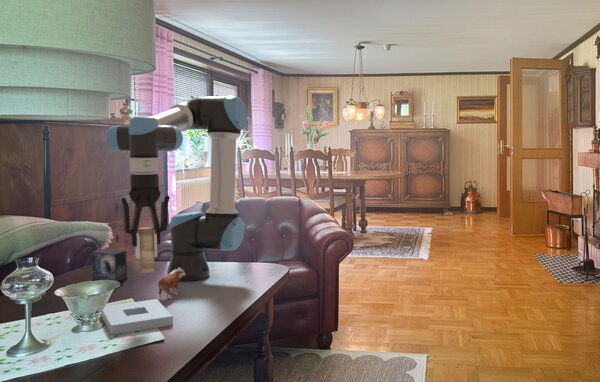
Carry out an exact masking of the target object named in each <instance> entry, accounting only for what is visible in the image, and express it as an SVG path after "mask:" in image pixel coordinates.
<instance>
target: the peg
mask: <svg viewBox="0 0 600 382" xmlns="http://www.w3.org/2000/svg"><path fill="white" fill-rule="evenodd" d="M137 233H138V234H139V235H140V259H138V261H139V263H138V265H139V267H138V268H139V270H138V271H139V273H142V274H147V273H154V272H155V257H154V237H153V233H154V227H138V231H137Z"/></svg>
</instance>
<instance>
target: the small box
mask: <svg viewBox="0 0 600 382" xmlns="http://www.w3.org/2000/svg"><path fill="white" fill-rule="evenodd" d="M91 261H92V279H93V278H95V279H109V280H116V281H120V282H122V281H124V280H127V279H128V273H127V272H128V269H127V268H128V267H127V266H128V265H127V250H125V249H116V248H105V247H103V248H100V249H96V250H94V251H91Z"/></svg>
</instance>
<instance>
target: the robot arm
mask: <svg viewBox="0 0 600 382" xmlns="http://www.w3.org/2000/svg"><path fill="white" fill-rule="evenodd" d="M247 124H248V112H247V107H246V105H245V103H244V102H243V100H242V99H241V98H240V97H239V96H235V95H234V96H233V95H219V96H218V95H216V96H215V95H214V96H198V97H194V98H193V97H192V98H191V99H188V100H184V101H182V102H179V103H177V104H174V105H172V106H171V107H170V109H167V110H165V111H162V112H160V113H157V114H154V115H151V116H134V117H133V116H132V117H130V119H129V121H128V124H124V125H120V124H118V125H112V126H110V127H109V128H108V129H107V130H106V132H105V143H106V145H107V147H108V148H109V149H110V150H111V151H116V152H117V151H118V152H129V171H130V172H129V173H131V174H130V175H129V177H130V181H129V182H130V191H128V194H127V195H125V196H121V197H119V202H120V203H121V206H122V222H123V231H124V233H126V234H129V235H130V236H131V237H130V239H131V240H130V241H131V243H130V244H131V246H132V247H135V250H134V251H135V258H136V260H139V259H140V235H139V233H138V229H139V226H140V219H141V213H142V210H143V208H145V207H147V208H148V210H149V213H150V218H151V219H150V220H151V222H152V226H153V227H152V228H153V237H154V258H158V245H160V244H161V234H162V232H166V231H167V229H168V204H169V201H170V198H171V197H170V196H169V195H167V194H163V193H161V191H160V186H159V185H160V184H159V183H160V181H159V179H160V178H159V174H158V172H159V152H173V151H177V150H178V149H180V147H182V144H183V141H184V140H183V139H184V137H183V132H185V131H189V130H204V131H205V130H206V131H207V135H208V136H209V138H210V139H211V149H210V150H211V154H210V157H211V158H210V193H209V196H210V197H209V208H208V209H207V210H206V211H205V214H204V212H203V211H189V212H185V213H183V212H182V213H179V214H175V215H172V217H171V218H170V227H169V229H170V248H171V250H170V251H171V254H170V255H171V256H170V260H169V263H168V266H167V270H166V274H167V275H168V274H169V273H171V272H172V271H173V270H174V269H178V268H181V269H182V270H183V271H184V273H185V276H182V277H181V278H179V282H189V281H191V282H192V281H199V280H202V279H206V278H208V277H210V267H209V263H208V262H207V258H206V256H205V250H216V251H217V250H218V251H222V252H225V251H235V250H237V249H238V248H239V246H240V245H241V243H242V242H243V239H244V236H245V232H246V231H245V230H246V229H245V227H246V226H245V221H244V220H243V218H241V217H239V214H240V213H239V210H237V209H236V207H235V205H236V204H235V201H236V199H235V198H236V161H237V160H236V158H237V157H236V156H237V140H238V139H239V138H240V136H241V135H242V134H241V131H242V130H244V129H246V128H247ZM130 200H131V201H132V202H133V203H134V211H133V216H132V223H131V222H130V220H131V218H130V208H129V204H130ZM158 200H159V201H160V220H159V217H158V213H157V207H156V203H157V202H158ZM159 221H160V223H159ZM167 275H166V276H167Z"/></svg>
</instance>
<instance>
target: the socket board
mask: <svg viewBox="0 0 600 382" xmlns="http://www.w3.org/2000/svg"><path fill="white" fill-rule="evenodd" d="M100 316H101V318H102V320H103V322H104V321H105V322H104V324H105V323H106V324H105V325H107V326H106V327H107V329H108V331H109V333H110V335H111V336H113V335H114V336H115V335H120V333H121V334H125V333H133V332H139V331H144V330H150V329H156V328H158V329H159V328H162V327H163V328H165V327H169V326H174V316H173V314H171V313H170V312H169V311H168V309H167V308H166V307H165V306H164V305H163V304H162V303H161V301H160V300H159V299H157V298H155V299H149V300H148V299H147V300H141V301H134V302H127V303H119V304H112V305H105V308H104V309H103V310H102V311H101V310H100Z"/></svg>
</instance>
